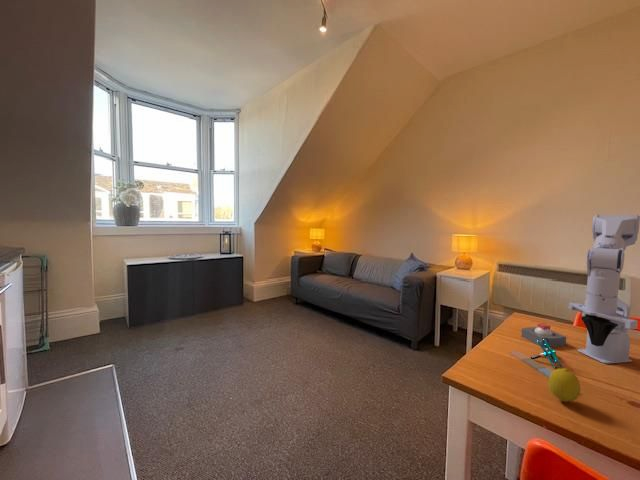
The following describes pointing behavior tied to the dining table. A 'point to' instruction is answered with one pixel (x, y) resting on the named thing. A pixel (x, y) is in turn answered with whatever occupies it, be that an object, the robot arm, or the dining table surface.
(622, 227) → the robot arm
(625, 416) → the dining table surface
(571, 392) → the lemon
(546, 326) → the dome button
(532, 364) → the track tiles
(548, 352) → the stick construction toy
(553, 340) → the dome housing
